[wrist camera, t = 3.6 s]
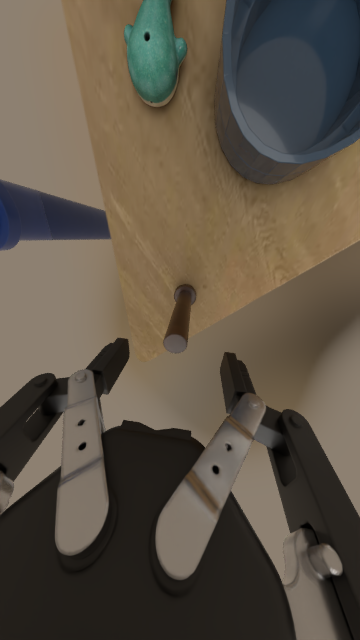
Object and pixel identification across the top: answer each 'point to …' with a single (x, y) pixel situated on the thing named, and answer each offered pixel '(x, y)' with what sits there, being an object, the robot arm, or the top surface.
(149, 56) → the whale figurine
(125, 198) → the top surface
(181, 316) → the brown wooden peg
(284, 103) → the bowl
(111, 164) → the top surface
